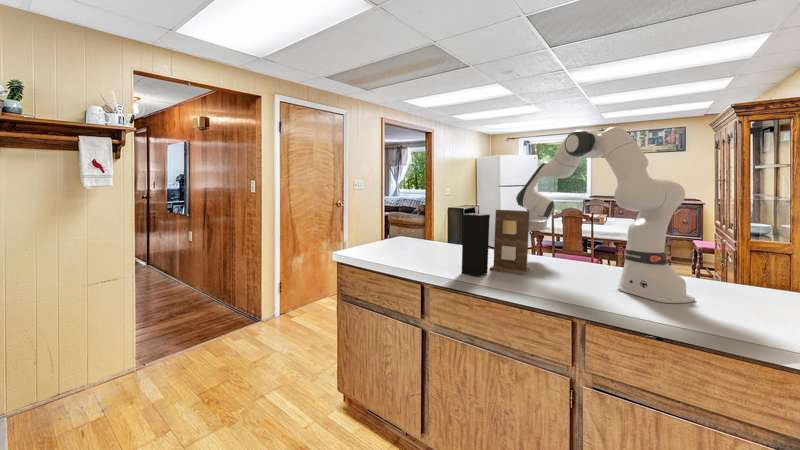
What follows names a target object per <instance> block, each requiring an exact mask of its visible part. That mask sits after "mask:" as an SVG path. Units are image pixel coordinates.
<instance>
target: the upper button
mask: <svg viewBox="0 0 800 450" xmlns="http://www.w3.org/2000/svg"><path fill="white" fill-rule="evenodd" d="M502 233H503V234H514V235H516V233H517V221H509V220H503V231H502Z"/></svg>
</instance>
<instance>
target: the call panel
mask: <svg viewBox="0 0 800 450" xmlns="http://www.w3.org/2000/svg"><path fill="white" fill-rule="evenodd" d="M530 213H531V211H530V210H514V209H499V208H498V209H495V219H494V220H495V222H494V224H495V225H494V241H493V242H494V249H493V266H490V267H489V271H493V272H499V273H507V274H513V275H519V276H525V274H527V273H528V272H529V271H530V267H528V255H529V254H528V253H529V235H530V234H529V233H530V232H529V215H530ZM503 220H509V221H517V232H516V235H514V234H503V233H502V231H503ZM502 246H509V247H516V257H515V261H513V260H505V259H501V255H502Z"/></svg>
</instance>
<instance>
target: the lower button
mask: <svg viewBox="0 0 800 450" xmlns="http://www.w3.org/2000/svg"><path fill="white" fill-rule="evenodd" d="M515 258H516V247H509V246H502V255H501V259H505V260H513V261H515Z"/></svg>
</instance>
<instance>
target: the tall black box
mask: <svg viewBox="0 0 800 450" xmlns="http://www.w3.org/2000/svg"><path fill="white" fill-rule="evenodd" d="M479 210H480V206H474V212H475V213H474V212H472V213H463V214H462V219H463V220H462V243H461V244H462V248H461V249H462V250H461V252H462V253H461V274H463V275H467V276H468V275H469V276H472V277H480V276H483V275H486V274H488V267H489V266H488V265H489V245H490V244H489V239H490V217H491V216H490V215H491V214H489V213H479Z"/></svg>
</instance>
